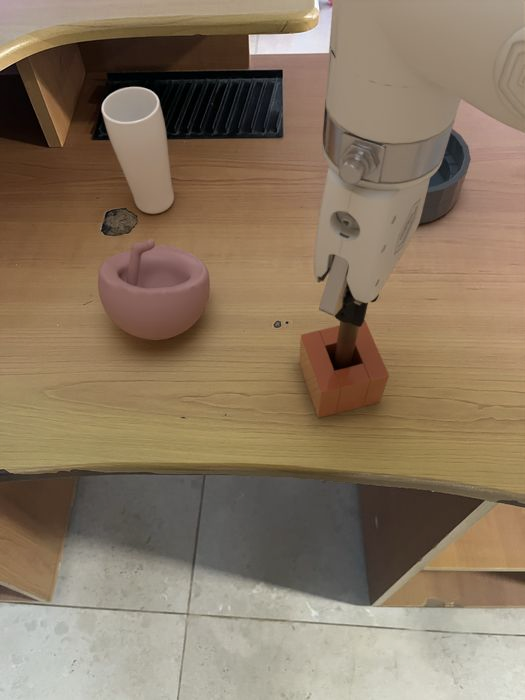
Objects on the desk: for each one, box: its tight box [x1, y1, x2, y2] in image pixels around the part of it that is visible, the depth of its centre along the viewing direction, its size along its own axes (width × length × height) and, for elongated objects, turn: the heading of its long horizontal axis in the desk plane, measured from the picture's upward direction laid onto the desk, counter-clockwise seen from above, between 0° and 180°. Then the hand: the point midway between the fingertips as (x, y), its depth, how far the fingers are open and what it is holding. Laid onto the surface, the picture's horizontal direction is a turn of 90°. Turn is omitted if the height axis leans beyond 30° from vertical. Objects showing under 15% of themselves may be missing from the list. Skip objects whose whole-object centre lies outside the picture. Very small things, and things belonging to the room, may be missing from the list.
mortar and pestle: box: [97, 238, 211, 341], centre depth 63 cm, size 12×12×12 cm
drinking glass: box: [101, 86, 175, 215], centre depth 71 cm, size 7×7×15 cm
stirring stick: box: [333, 320, 359, 371], centre depth 54 cm, size 2×2×20 cm
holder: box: [298, 319, 390, 419], centre depth 60 cm, size 7×7×6 cm
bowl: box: [418, 128, 472, 225], centre depth 75 cm, size 15×15×6 cm
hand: (353, 304), depth 50 cm, fingers closed
